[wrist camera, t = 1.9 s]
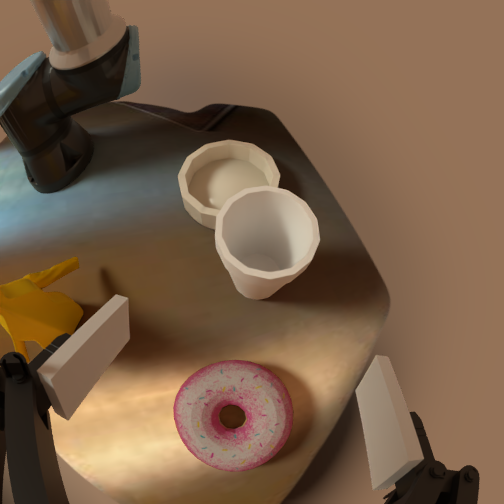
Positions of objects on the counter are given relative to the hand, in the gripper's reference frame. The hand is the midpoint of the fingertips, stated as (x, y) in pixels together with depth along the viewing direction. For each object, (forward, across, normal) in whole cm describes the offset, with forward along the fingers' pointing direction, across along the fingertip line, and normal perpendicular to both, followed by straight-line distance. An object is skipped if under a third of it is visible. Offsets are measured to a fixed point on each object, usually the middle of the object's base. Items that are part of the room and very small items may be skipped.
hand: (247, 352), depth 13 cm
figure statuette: (+13, -25, -16) cm, 32 cm away
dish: (+31, -8, +3) cm, 32 cm away
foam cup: (+23, -1, -6) cm, 24 cm away
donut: (+11, +1, -19) cm, 22 cm away
